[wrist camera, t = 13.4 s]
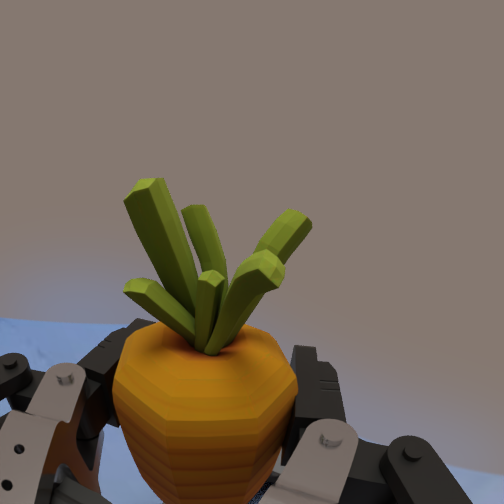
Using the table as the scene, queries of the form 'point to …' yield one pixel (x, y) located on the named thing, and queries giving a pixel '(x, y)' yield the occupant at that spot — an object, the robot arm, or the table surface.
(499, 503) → the table surface
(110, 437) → the table surface
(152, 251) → the carrot
